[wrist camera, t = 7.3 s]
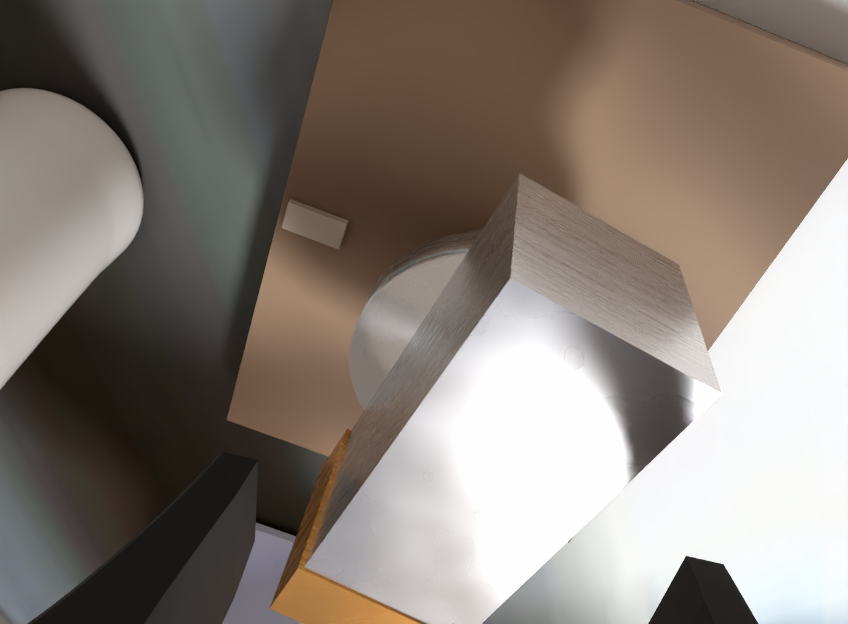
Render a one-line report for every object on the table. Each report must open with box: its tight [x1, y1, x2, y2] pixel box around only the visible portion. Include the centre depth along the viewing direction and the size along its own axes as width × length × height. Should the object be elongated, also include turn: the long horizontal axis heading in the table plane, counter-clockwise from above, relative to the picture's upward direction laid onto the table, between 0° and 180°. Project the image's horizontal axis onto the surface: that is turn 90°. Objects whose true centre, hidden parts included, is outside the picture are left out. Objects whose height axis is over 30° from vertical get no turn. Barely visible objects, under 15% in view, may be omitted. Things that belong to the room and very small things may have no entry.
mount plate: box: [227, 0, 848, 543], centre depth 19 cm, size 16×12×4 cm
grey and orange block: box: [270, 173, 721, 624], centre depth 15 cm, size 6×9×5 cm, turn 152°
